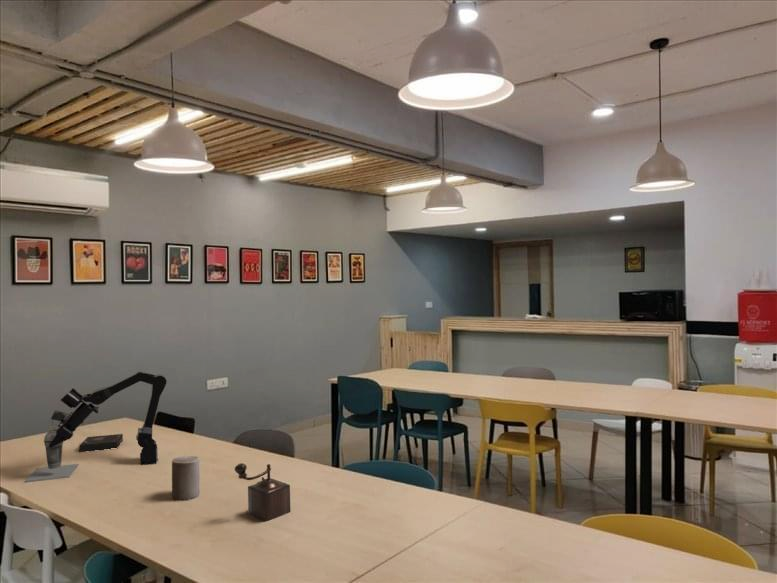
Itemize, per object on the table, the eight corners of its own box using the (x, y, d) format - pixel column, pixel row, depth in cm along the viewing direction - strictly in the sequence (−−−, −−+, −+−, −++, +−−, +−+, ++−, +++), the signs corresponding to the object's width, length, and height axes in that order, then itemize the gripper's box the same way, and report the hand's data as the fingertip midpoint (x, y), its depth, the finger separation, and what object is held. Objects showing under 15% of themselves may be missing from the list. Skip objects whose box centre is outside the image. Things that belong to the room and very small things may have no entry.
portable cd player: (86, 444, 278) (86, 437, 278) (122, 441, 284) (122, 433, 284) (78, 453, 263) (78, 445, 263) (117, 449, 268) (117, 441, 268)
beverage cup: (52, 470, 222) (51, 421, 222) (40, 469, 225) (39, 420, 225) (68, 465, 229) (67, 418, 229) (56, 463, 231) (55, 417, 232)
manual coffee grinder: (271, 504, 190) (270, 453, 191) (291, 512, 183) (290, 458, 183) (233, 518, 179) (232, 464, 179) (252, 527, 171) (251, 470, 172)
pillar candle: (170, 502, 194) (170, 460, 194) (173, 492, 204) (173, 453, 204) (199, 499, 197) (198, 458, 197) (200, 490, 206) (200, 450, 206)
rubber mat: (78, 465, 242) (78, 463, 242) (69, 477, 225) (69, 475, 225) (37, 469, 237) (37, 468, 237) (24, 482, 220) (24, 481, 220)
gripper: (65, 399, 237) (36, 428, 232) (62, 407, 221) (30, 438, 215) (86, 415, 241) (58, 444, 235) (85, 423, 224) (54, 454, 219)
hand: (50, 444), depth 226 cm, fingers closed on beverage cup, 7 cm apart
